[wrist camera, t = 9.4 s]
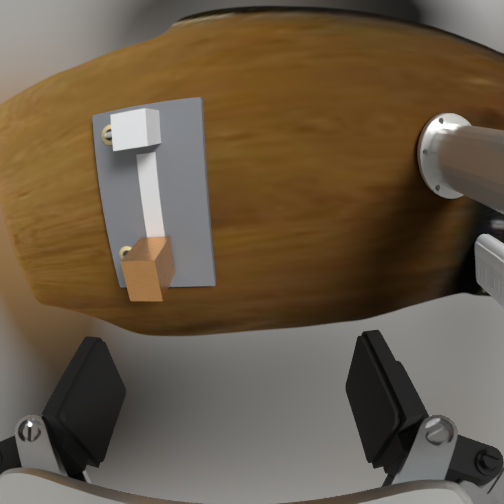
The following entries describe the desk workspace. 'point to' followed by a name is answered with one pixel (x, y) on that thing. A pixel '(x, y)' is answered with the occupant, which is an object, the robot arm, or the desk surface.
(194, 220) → the slide rail plate
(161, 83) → the desk surface
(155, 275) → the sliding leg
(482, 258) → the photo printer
